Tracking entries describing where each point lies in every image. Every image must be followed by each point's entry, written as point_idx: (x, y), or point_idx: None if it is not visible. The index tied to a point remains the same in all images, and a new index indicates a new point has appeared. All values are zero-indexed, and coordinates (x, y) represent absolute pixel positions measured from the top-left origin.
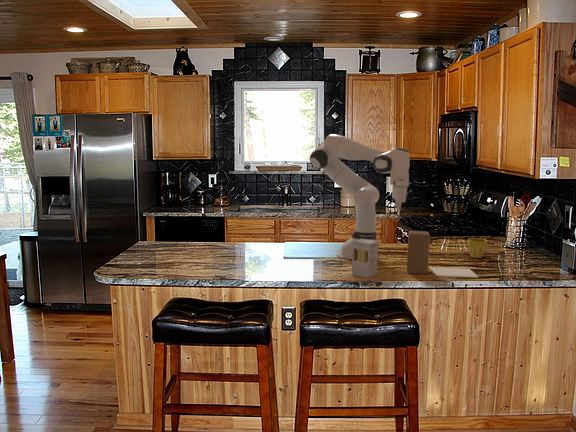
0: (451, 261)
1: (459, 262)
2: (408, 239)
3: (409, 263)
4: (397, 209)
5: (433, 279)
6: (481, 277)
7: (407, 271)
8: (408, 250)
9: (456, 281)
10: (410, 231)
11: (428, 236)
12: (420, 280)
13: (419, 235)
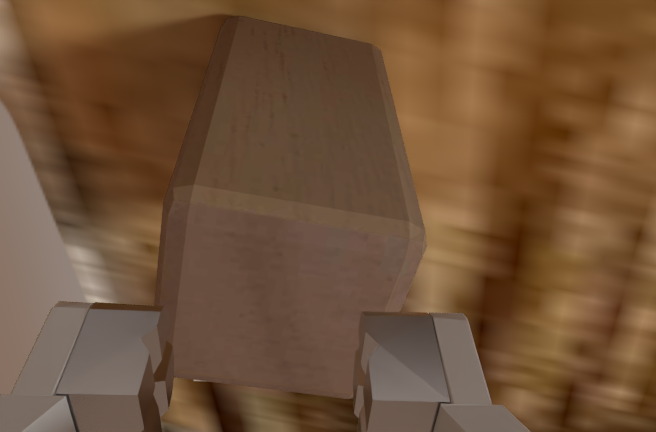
0: (578, 350)
1: (546, 378)
2: (262, 159)
3: (211, 57)
4: (52, 317)
5: (91, 158)
6: (208, 388)
7: (226, 19)
8: (204, 96)
9: (81, 268)
10: (349, 244)
11: None
12: (30, 66)
13: (159, 290)
